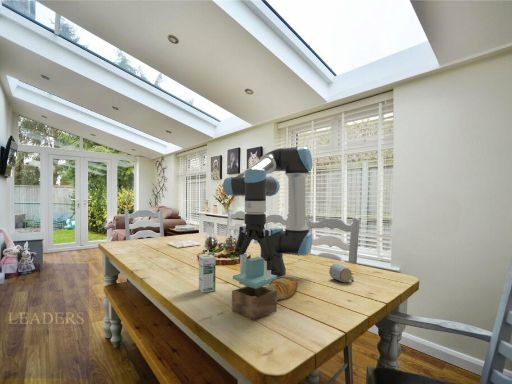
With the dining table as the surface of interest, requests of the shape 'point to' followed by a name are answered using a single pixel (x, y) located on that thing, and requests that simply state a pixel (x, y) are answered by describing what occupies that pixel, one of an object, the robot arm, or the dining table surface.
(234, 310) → the box
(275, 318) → the dining table surface
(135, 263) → the dining table surface
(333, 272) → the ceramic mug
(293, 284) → the croissant
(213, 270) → the syrup box
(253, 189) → the robot arm
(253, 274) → the lid
